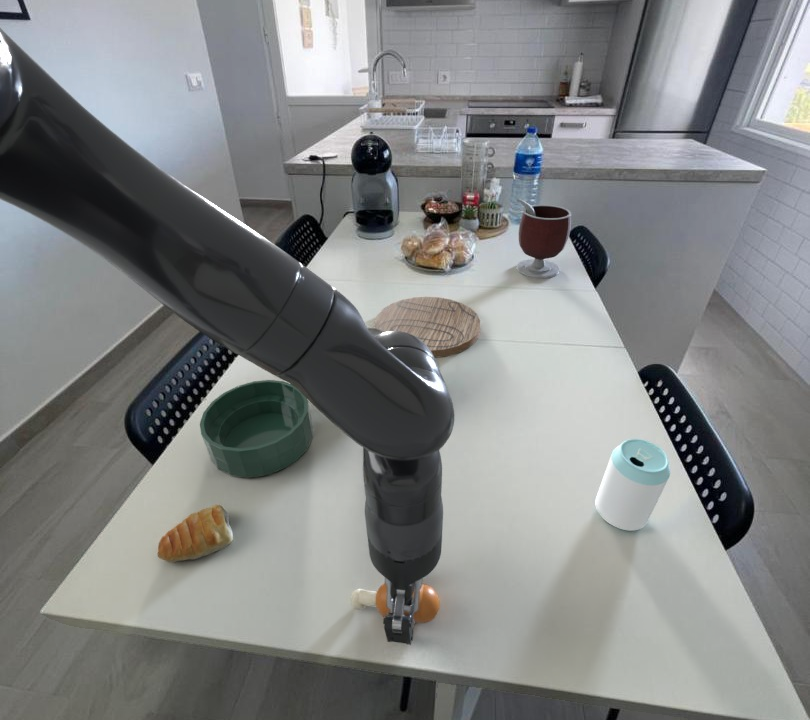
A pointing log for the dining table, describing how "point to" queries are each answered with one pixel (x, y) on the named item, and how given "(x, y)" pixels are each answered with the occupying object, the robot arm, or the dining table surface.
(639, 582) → the dining table surface
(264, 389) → the green faceted bowl
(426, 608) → the drumstick
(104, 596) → the dining table surface
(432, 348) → the trivet
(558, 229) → the mate gourd
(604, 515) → the can
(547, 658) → the dining table surface
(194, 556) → the pastry
